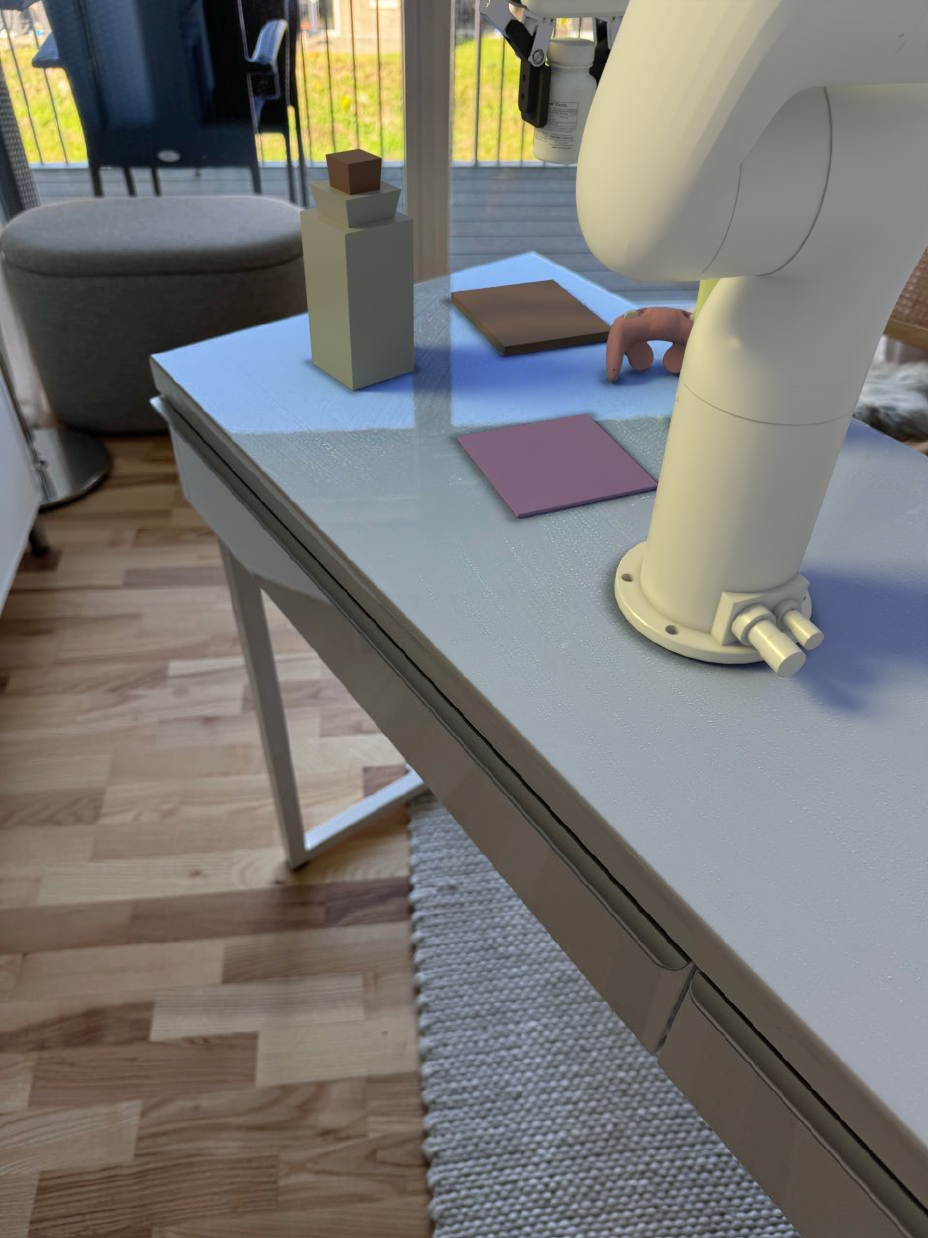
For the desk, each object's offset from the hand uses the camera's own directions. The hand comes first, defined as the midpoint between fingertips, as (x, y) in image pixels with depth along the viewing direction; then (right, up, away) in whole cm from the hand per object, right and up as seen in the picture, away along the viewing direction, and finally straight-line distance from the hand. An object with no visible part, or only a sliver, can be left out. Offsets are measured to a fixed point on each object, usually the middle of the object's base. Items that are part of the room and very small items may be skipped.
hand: (564, 118), depth 69 cm
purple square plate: (0, -25, +4) cm, 26 cm away
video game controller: (+10, -15, +16) cm, 25 cm away
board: (-1, -7, +25) cm, 26 cm away
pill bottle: (0, -2, +2) cm, 3 cm away
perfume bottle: (-17, -15, +16) cm, 27 cm away
